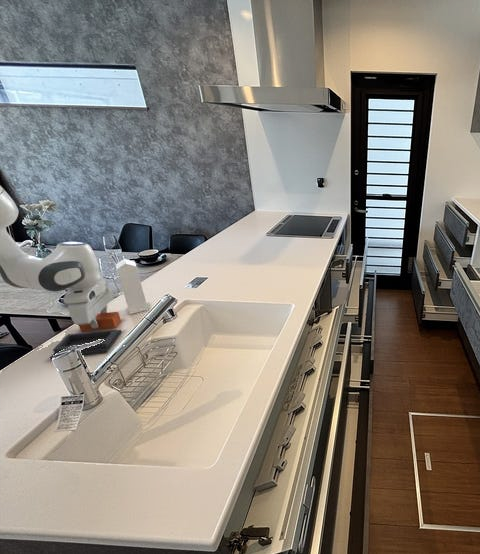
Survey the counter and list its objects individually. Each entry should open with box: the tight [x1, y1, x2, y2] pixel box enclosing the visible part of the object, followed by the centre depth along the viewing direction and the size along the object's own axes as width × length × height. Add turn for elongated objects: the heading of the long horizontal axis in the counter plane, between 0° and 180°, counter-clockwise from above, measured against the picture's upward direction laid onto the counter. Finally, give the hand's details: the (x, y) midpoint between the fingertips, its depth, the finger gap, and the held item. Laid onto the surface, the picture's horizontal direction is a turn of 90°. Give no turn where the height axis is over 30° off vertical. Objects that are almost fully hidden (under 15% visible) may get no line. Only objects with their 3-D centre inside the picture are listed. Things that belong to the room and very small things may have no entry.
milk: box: [115, 255, 149, 315], centre depth 117 cm, size 6×6×22 cm
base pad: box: [49, 328, 122, 361], centre depth 99 cm, size 14×12×2 cm
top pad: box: [78, 311, 122, 333], centre depth 109 cm, size 10×5×4 cm, turn 108°
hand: (100, 322), depth 109 cm, fingers open, 5 cm apart
